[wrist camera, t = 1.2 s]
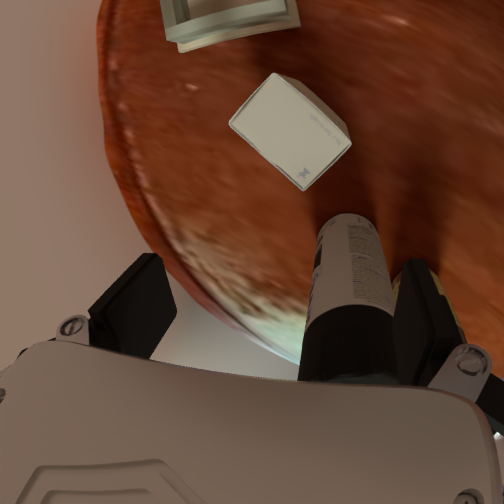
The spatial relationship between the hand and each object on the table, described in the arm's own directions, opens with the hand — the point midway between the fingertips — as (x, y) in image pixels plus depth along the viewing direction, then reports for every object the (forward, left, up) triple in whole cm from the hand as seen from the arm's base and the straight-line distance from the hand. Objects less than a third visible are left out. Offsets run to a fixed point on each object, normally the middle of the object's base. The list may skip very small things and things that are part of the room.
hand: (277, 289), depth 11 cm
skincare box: (0, -5, -21) cm, 21 cm away
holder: (+5, -20, -20) cm, 29 cm away
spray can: (-3, +8, -21) cm, 22 cm away
